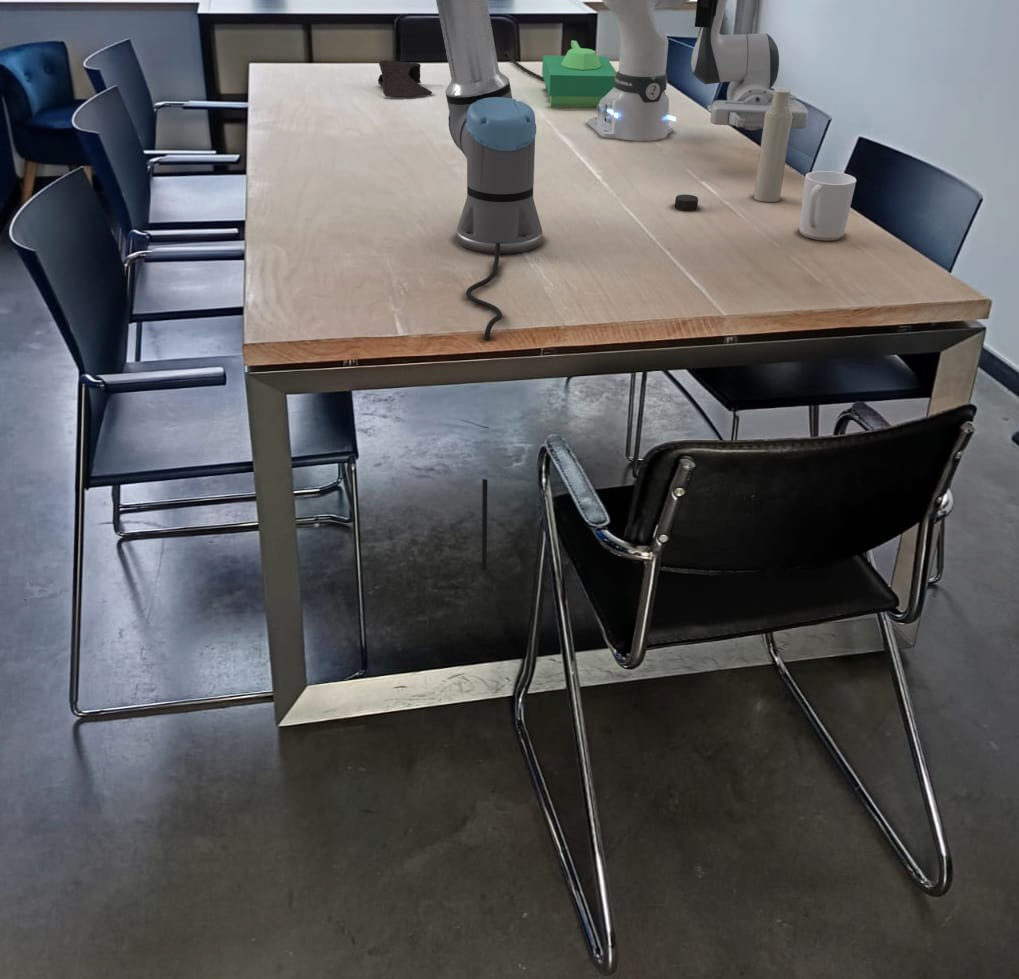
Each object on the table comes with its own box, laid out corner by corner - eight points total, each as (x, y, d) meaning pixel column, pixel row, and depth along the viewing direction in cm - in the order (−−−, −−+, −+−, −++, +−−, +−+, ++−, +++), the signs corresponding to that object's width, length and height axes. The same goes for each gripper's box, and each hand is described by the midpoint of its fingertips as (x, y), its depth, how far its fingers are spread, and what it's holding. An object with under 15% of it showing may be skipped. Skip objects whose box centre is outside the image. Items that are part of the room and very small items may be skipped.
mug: (809, 222, 208) (818, 168, 202) (854, 233, 203) (864, 177, 197) (782, 236, 200) (791, 180, 195) (827, 247, 195) (838, 190, 190)
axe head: (443, 87, 294) (392, 77, 287) (436, 115, 299) (385, 106, 292) (421, 62, 307) (371, 52, 300) (414, 89, 311) (365, 80, 304)
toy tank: (603, 37, 308) (620, 60, 279) (600, 82, 315) (616, 110, 285) (541, 36, 308) (551, 59, 278) (539, 81, 314) (548, 109, 284)
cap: (698, 205, 216) (699, 195, 215) (696, 211, 213) (697, 201, 212) (675, 203, 217) (676, 193, 216) (673, 209, 213) (674, 199, 212)
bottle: (757, 202, 219) (772, 93, 208) (751, 194, 223) (765, 87, 212) (782, 202, 219) (799, 93, 208) (775, 194, 224) (791, 87, 213)
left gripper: (738, -109, 175) (722, 33, 186) (745, -116, 196) (730, 12, 207) (691, -111, 176) (677, 30, 187) (703, -117, 197) (690, 10, 208)
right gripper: (707, 90, 236) (715, 106, 224) (802, 95, 236) (815, 111, 224) (703, 120, 239) (711, 137, 228) (797, 124, 239) (809, 142, 227)
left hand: (705, 21), depth 197 cm, fingers open, 13 cm apart
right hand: (763, 124), depth 226 cm, fingers open, 8 cm apart
